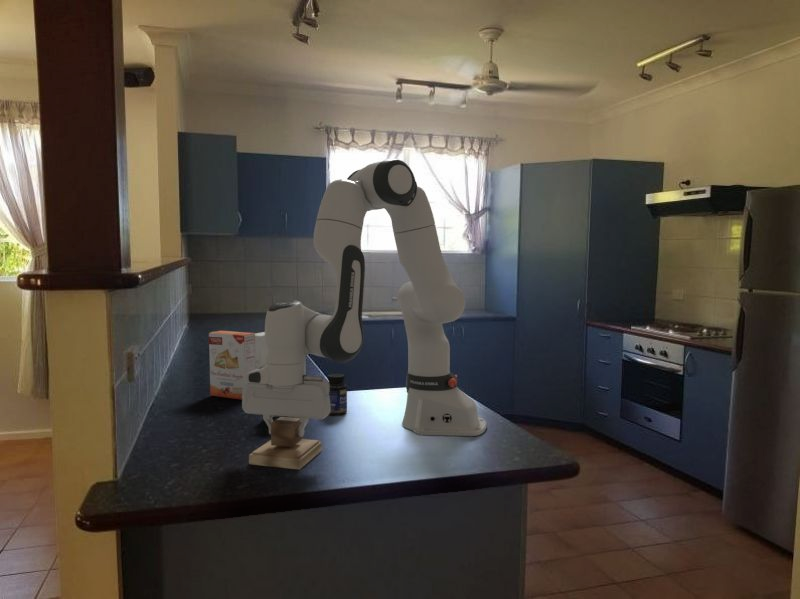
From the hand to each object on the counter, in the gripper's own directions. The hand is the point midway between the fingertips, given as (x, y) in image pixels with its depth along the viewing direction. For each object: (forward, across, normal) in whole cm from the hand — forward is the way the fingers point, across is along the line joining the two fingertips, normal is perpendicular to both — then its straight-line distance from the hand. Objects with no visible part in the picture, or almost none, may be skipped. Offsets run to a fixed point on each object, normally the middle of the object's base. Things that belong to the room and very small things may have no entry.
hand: (286, 434), depth 124 cm
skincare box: (+5, +49, -80) cm, 94 cm away
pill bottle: (+5, +2, -36) cm, 36 cm away
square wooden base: (+5, 0, 0) cm, 5 cm away
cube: (+2, 0, 0) cm, 2 cm away
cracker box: (+5, +41, -45) cm, 61 cm away
